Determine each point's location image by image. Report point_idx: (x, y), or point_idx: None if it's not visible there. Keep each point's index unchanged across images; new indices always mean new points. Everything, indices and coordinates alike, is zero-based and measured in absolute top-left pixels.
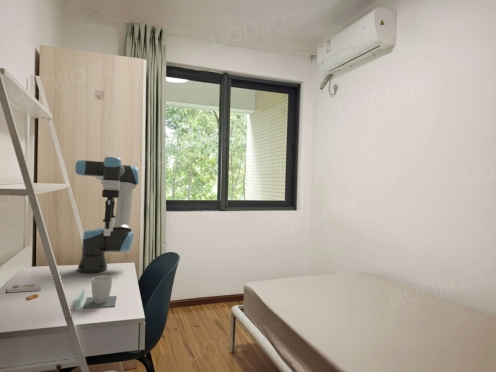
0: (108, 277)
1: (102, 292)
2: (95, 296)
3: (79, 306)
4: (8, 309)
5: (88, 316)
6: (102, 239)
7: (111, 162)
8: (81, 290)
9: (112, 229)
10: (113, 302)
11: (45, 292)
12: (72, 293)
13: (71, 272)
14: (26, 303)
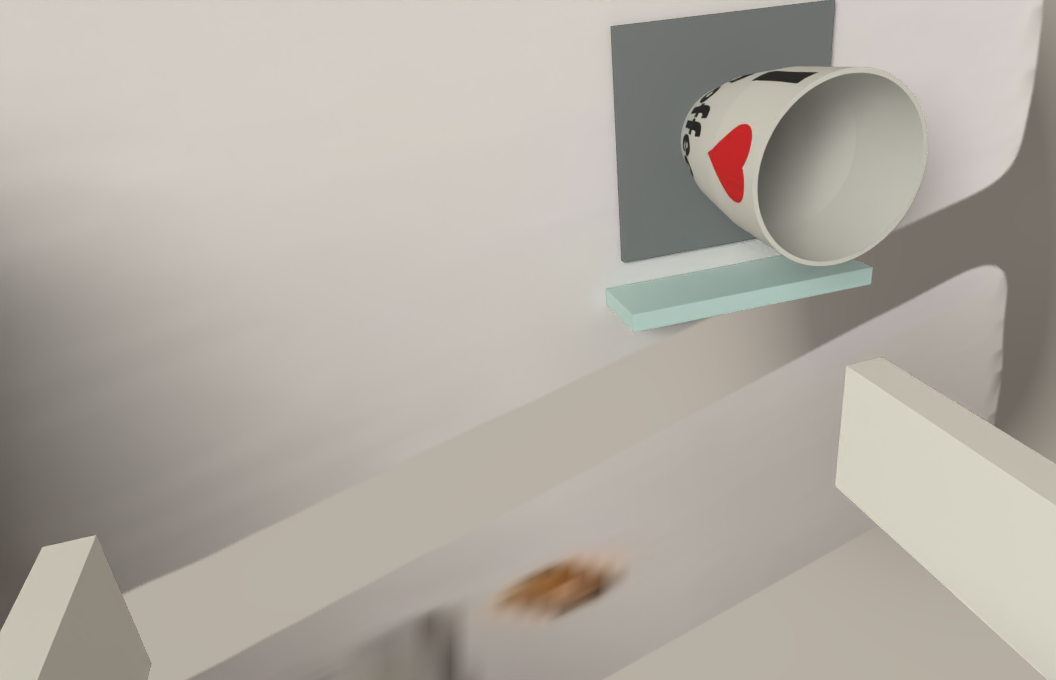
0: (767, 123)
1: (845, 124)
2: (804, 174)
3: (779, 257)
4: (740, 588)
5: (941, 147)
6: None
7: None
8: (675, 319)
9: (81, 577)
10: (762, 25)
11: (477, 566)
12: (505, 399)
13: None
14: (667, 561)
